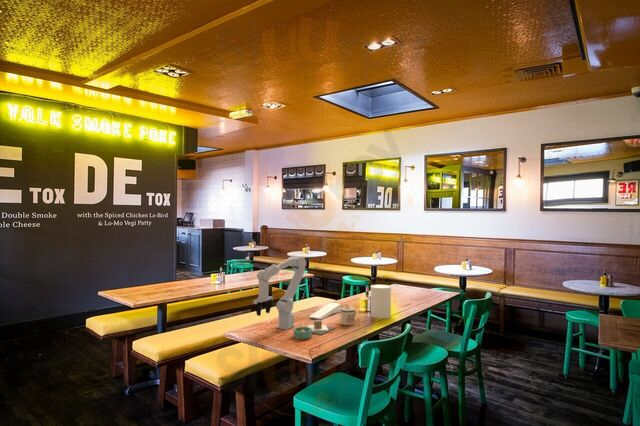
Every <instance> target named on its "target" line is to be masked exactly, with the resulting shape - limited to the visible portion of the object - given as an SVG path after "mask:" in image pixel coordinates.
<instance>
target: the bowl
mask: <svg viewBox="0 0 640 426" xmlns="http://www.w3.org/2000/svg"><path fill="white" fill-rule="evenodd" d="M312 337H313V333H312V329H311V328H310V327H308V326H297V327H295V328H293V338H294V339H297V340H308V339H312Z"/></svg>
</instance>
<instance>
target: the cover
mask: <svg viewBox="0 0 640 426" xmlns="http://www.w3.org/2000/svg"><path fill="white" fill-rule="evenodd" d="M307 327H310V328H311V329H312V332H322V331H328V328H327V325H326V324H323V323H322V319H314V320H313V324H309V325H307Z"/></svg>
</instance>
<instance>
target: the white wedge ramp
mask: <svg viewBox="0 0 640 426" xmlns="http://www.w3.org/2000/svg"><path fill="white" fill-rule="evenodd" d="M341 305H342V304H341V303H337V302H329V303H327V304H326V305H325V306H322V307H321V308H320V309H318V310H317V311H315V312H314V313H312V314H310V315H309V316H308V318H310V319H314V320H324V319H326V318H327V317H329V316H330V315H332V314H337V313H341V311H340V309H341V308H342V306H341Z"/></svg>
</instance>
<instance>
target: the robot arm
mask: <svg viewBox="0 0 640 426" xmlns="http://www.w3.org/2000/svg"><path fill="white" fill-rule="evenodd" d="M289 266H291V268H292V269H293V271H294V273H293V276H292V278H291V280H290V282H289V285H288V287H287V289H286V291H285V294H284V295H282V296H281V297H280V299H279V300H278V301H277V302H276V305H275V307H276V309H277V311H278V325H277V326H275V328H277V329H281V330H287V329H290V328H293V327H295V326H296V325H295V314H294V313H293V309H294V304H295V301H294V300H293V299H294V297H295V295H296V293H297V290H298V288H299V285H300V283H301V281H302V279H303V277H304V274H305V270H306V269H305V268H306V266H307V261H306V259H305V258H304V257H303V256H295V255H292V256H289V257H288V258H287V259H285V260H283V261H282V262H280V263H279V264H276V263H274V264H273V263H272V264H271V265H270V266H269V267H265V268H264V269H260V270H259V271H258V272H257V274H256V278H257V279H258V297H257V298H256V299H253V303H252V304H253V307H254V308H255V312H256V316H259V317H260V316H261V314H262V307H263V304H261V303H263V302H264V304H265V313H266V314H270V312H271V308H272V305H273V304H274V296H271V295H270V296H269V281H270V279H271V278H273V277H274V276H275V275H277V274H279V273H280V272H281V270H283V269H285V268H287V267H289Z"/></svg>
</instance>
